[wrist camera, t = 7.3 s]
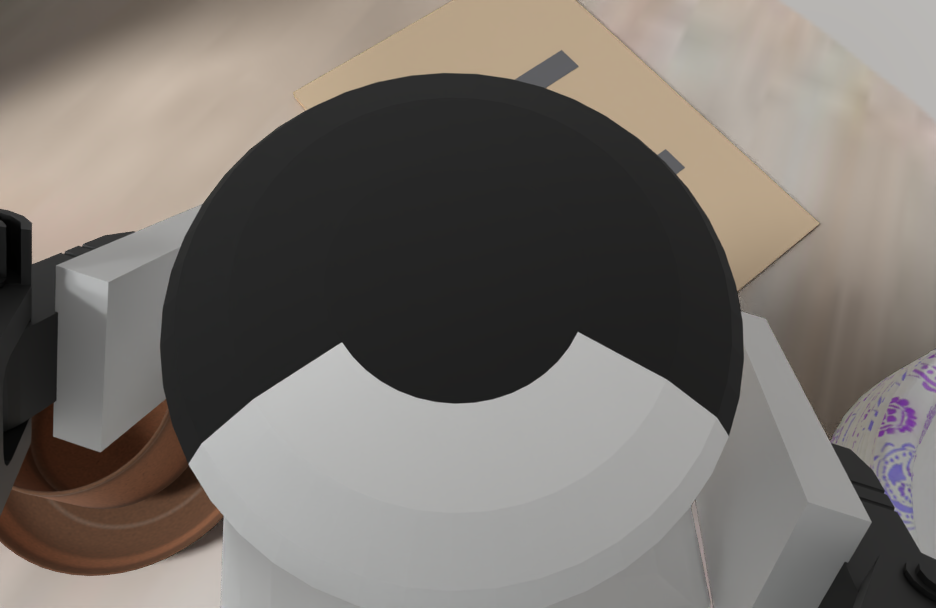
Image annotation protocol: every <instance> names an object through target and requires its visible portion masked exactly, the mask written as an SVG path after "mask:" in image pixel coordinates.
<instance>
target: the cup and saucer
mask: <svg viewBox="0 0 936 608" xmlns="http://www.w3.org/2000/svg"><path fill="white" fill-rule="evenodd" d="M53 414H54V403H52V404H51V405H49V406H48V407H46V408H45V409H43V410H42V411H40V412H39V413H37V414H36V415H34V416H33V417H31V444H30V446H29V448H28V451H27V453H26V456H25V458H24V460H23V463H22V465H21V468H20V470H19V472H18V475H17V477H16V480H15V482H14V485H13V487H12V489H11V492H10V494H9V497H8V499H7V501H6V504H5V506H4V509H3V511H2V513H1V516H0V542H1V543H2V544H4V545H5V546H6V547H7V548H8V549H10V550H11V551H12V552H14V553H15V554H16V555H18V556H20V557H22V558H23V559H25V560H27V561H29V562H31V563H33V564H35V565H38V566H40V567H42V568H46V569H49V570H52V571H56V572H60V573H66V574H71V575H84V576H97V575H110V574H117V573H123V572H128V571H132V570H136V569H139V568H142V567H145V566H148V565H151V564H154V563H156V562H159V561H161V560H163V559H165V558H168V557H170V556H172V555H174V554H175V553H177V552H179V551H181V550H183V549H184V548H186V547H188V546H189V545H190V544H192V543H193V542H195V541H196V540H198V539H199V538H201V537H202V536H203V535H204V534H206V533H207V532H208V531H209V530H210V529H212V528H213V527H214V526H215V525H216V524H217V523H218V522H219V521H220V520H221V519H222V518H223V517H224V516H223V514H222V513H221V512H220V511H219V510H218V509H217V507H216V506H215V505H214V504H213V503H212V502H211V500H210V499H209V497H208V495H207V494H206V492H205V491H204V489H203V487H202V486H201V484H200V482H199V481H198V479H197V478H196V476H195V474H194V473H193V471H192V469H191V468H190V466H189V464H188V462H187V460H186V457H185V455H184V453H183V450H182V448H181V445H180V443H179V440H178V438H177V436H176V433H175V431H174V428H173V426H172V422H171V418H170V414H169V409H168V405H167V401H166V399H165V400H164V401H163V402H161V403H160V404H159V405H158V406H157V407H155V408H154V409H153V410H152V411H151V412H149V413H148V414H147V415H146V416H144V417H143V418H142V419H141V420H140V421H138V422H137V423H136V424H135V425H133V426H132V427H131V428H130V429H129V430H127V431H126V432H125V433H124V434H122V435H121V436H120V437H119V438H118V439H116V440H115V441H114V442H113V443H111V444H110V445H109V446H108V447H107V448H105V449H104V450H103V451H102V452H98V451H95V450H92V449H89V448H86V447H83V446H80V445H77V444H74V443H71V442H68V441H65V440H62V439H59V438H56V437H53Z"/></svg>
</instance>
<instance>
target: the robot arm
mask: <svg viewBox="0 0 936 608" xmlns="http://www.w3.org/2000/svg"><path fill="white" fill-rule="evenodd" d="M201 206H202V204H201V205H199V206H197V207H194V208H192V209H189V210H187V211H185V212H182V213H180V214H177V215H175V216H173V217H170V218H168V219H166V220H163V221H161V222H158V223H156V224H154V225H151V226H149V227H146V228H144V229H142V230H139V231H137V232H134V231H132V232H125V233H119V234H112V235H105V236H102V237H100V238H97V239H95V240H92V241H90V242H87V243H85V244H83V246H82V247H81V246H77V247H75V248H72V249H70V250H67V251H65V254H62V253H60V254H57V255H55V256H52V257H50V258H47V259H45V260H42V261H40V262H37V263H35V264H32V223H31V222H30V221H29V220H28V219H26V218H25V217H24V216H22V215H19V214H16V213H14V212H11V211H8V210H3V209H0V516H1V513H2V511H3V509H4V506H5V504H6V501H7V499H8V497H9V494H10V492H11V489H12V487H13V485H14V482H15V480H16V477H17V475H18V472H19V470H20V468H21V465H22V463H23V460H24V458H25V456H26V453H27V451H28V448H29V446H30V444H31V417H33V416H34V415H36V414H37V413H39V412H40V411H42V410H43V409H45V408H46V407H48V406H49V405H51V404H52V403H54V414H53V437H56V438H59V439H62V440H65V441H68V442H71V443H74V444H77V445H80V446H83V447H86V448H89V449H92V450H95V451H98V452H102V451H103V450H104V449H105V448H107V447H108V446H109V445H110V444H111V443H113V442H114V441H115V440H116V439H118V438H119V437H120V436H121V435H122V434H124V433H125V432H126V431H127V430H129V429H130V428H131V427H132V426H133V425H135V424H136V423H137V422H138V421H140V420H141V419H142V418H143V417H144V416H146V415H147V414H148V413H149V412H151V411H152V410H153V409H154V408H155V407H157V406H158V405H159V404H160V403H161V402H163V401H164V400H165V399H166V397H165V393H164V389H163V381H162V368H161V355H160V338H161V324H162V311H163V305H164V300H165V296H166V291H167V287H168V283H169V278H170V274H171V270H172V268H173V265H174V262H175V260H176V257H177V255H178V252H179V250H180V247H181V244H182V242H183V239H184V237H185V235H186V233H187V231H188V229H189V228H190V226H191V224H192V222H193V220H194V219H195V217H196V215H197V213H198V212H199V210H200V208H201ZM741 315H742V320H743V344H744V364H743V373H742V381H741V390H740V398H739V402H738V405H737V409H736V413H735V416H734V420H733V424H732V427H731V431H730V434H729V437H728V440H727V442H726V444H725V446H724V448H723V451H722V453H721V455H720V457H719V459H718V462H717V464H716V466H715V468H714V471H713V473H712V475H711V476H710V478H709V479H708V481H707V482H706V484H705V485H704V487H703V488H702V490H701V491H700V493H699V494H698V496H697V497H696V499H695V501H696V506H697V512H698V518H699V524H700V530H701V536H702V542H703V548H704V554H705V560H706V565H707V571H708V577H709V583H710V589H711V595H712V601H713V607H714V608H936V559H934V558H932V557H930V556H927V555H925V554H923V553H921V551H920V550H919V548H918V546H917V545H916V543H915V541H914V540H913V538H912V536H911V534H910V533H909V531H908V529H907V528H906V526H905V524H904V522H903V521H902V519H901V517H900V516H899V514H898V512H896V511H894V509H895V507H894V505H893V504H892V502H891V500H890V498H889V497H888V495H886V494H884V492H885V490H884V488H883V487H882V485H881V483H880V481H879V480H878V478H877V476H876V475H875V473H874V471H873V470H872V469H871V468H870V467H869V466H868V465H867V464H866V463H865V462H864V461H863V460H861V459H860V458H859V457H858V456H857V455H856V454H855V453H854V452H853V451H852V450H851V449H849V448H846V447H842V446H839V445H836V444H833V443H830V441H829V439H828V437H827V435H826V433H825V431H824V429H823V427H822V426H821V424H820V422H819V420H818V418H817V416H816V414H815V412H814V410H813V408H812V406H811V404H810V402H809V401H808V399H807V397H806V395H805V393H804V391H803V389H802V387H801V385H800V383H799V381H798V379H797V378H796V376H795V374H794V372H793V370H792V368H791V366H790V364H789V362H788V360H787V358H786V356H785V354H784V353H783V351H782V349H781V347H780V345H779V343H778V341H777V339H776V337H775V335H774V333H773V331H772V330H771V328H770V326H769V324H768V322H767V320H766V319H765V318H762V317H759V316H755V315H752V314H748V313H745V312H742V311H741Z"/></svg>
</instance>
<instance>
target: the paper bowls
mask: <svg viewBox="0 0 936 608" xmlns="http://www.w3.org/2000/svg"><path fill="white" fill-rule="evenodd" d="M830 443H833V444H836V445H839V446H842V447H846V448H849V449H851V450H852V451H853V452H854V453H855V454H856V455H857V456H858V457H859V458H860V459H861V460H863V461H864V462H865V463H866V464H867V465H868V466H869V467H870V468H871V469H872V470H873V471H874V473H875V475H876V476H877V478H878V480H879V481H880V483H881V485H882V487H883V488H884V490H885V492H884V494H886V495H888V497H889V498H890V500H891V502H892V504H893V505H894V507H895V509H894V511H896V512H898V514H899V516H900V517H901V519H902V521H903V522H904V524H905V526H906V528H907V529H908V531H909V533H910V534H911V536H912V538H913V540H914V541H915V543H916V545H917V546H918V548H919V550H920V551H921V553H923V554H925V555H927V556H930V557H932V558H934V559H936V349H935V350H932V351H930V352H929V353H928V354H926V355H924V356H922V357H920V358H918V359H917V360H915V361H913V362H912V363H910V364H909V365H907V366H905V367H903V368H901V369H900V370H898V371H896V372H894V373H893V374H891V375H890V376H888V377H887V378H885V379H884V380H882V381H880V382H879V383H878V384H877V385H875V386H874V387H872V388H871V389H870V390H869V391H868V392H866V393H865V394H864V395H862V396H861V397H860V398H859V399H858V400H857V402H856V403H855V404H854V405H853V406H852V407H851V408H850V409H849V411H848V412H847V413H846V414H845V415H844V417H843V418H842V421H841V423H840V424H839V426H838V427H837V429H836V431H835V432H834V434H833V437H832V439H831V441H830Z"/></svg>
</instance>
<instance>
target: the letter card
mask: <svg viewBox="0 0 936 608" xmlns="http://www.w3.org/2000/svg"><path fill="white" fill-rule="evenodd" d="M436 73H463V74H481V75H488V76H495V77H502V78H509V79H514V80H517V81H521V82H525V83H529V84H533V85H536V86H540V87H544V88H546V89H549V90H552V91H554V92H557V93H559V94H562V95H565V96H567V97H570V98H572V99H575V100H577V101H579V102H580V103H582V104H584V105H586V106H588V107H590V108H592V109H594V110H596V111H598V112H599V113H601V114H603V115H605V116H607V117H608V118H610V119H611V120H613V121H614V122H615V123H617V124H618V125H620V126H621V127H623V128H624V129H626V130H627V131H629V132H630V133H631V134H633V135H634V136H636V137H637V138H639V139H640V140H641V141H642V142H643V143H644V144H645V145H647V146H648V147H649V148H650V149H651V150H652V151H653V152H655V153H656V154H657V155H658V156H659V157H660V158H661V159H662V160H664V161H665V162H666V163H667V165H668V166H669V167H670V168H671V169H672V170H673V171H674V173H675V174H676V175H677V176H678V177H679V178H680V179H681V180H682V182H683V183H684V184H685V185H686V186H687V187H688V188H689V190H690V191H691V193H692V194H693V196H694V197H695V199H696V200H697V202H698V203H699V205H700V206H701V208H702V209H703V211H704V212H705V214H706V215H707V217H708V218H709V220H710V222H711V224H712V226H713V228H714V230H715V232H716V234H717V236H718V238H719V240H720V242H721V244H722V246H723V248H724V250H725V253H726V256H727V259H728V262H729V265H730V268H731V271H732V274H733V277H734V280H735V283H736V287H737V291H739V290H740V289H741V288H742V287H744V286H745V285H746V284H747V283H748V282H750V281H751V280H752V279H753V278H755V277H756V276H757V275H758V274H759V273H761V272H762V271H763V270H764V269H766V268H767V267H768V266H769V265H770V264H772V263H773V262H774V261H775V260H776V259H778V258H779V257H780V256H781V255H783V254H784V253H785V252H786V251H787V250H789V249H790V248H791V247H792V246H794V245H795V244H796V243H797V242H798V241H800V240H801V239H802V238H803V237H805V236H806V235H807V234H808V233H809V232H811V231H812V230H813V229H814V228H816V227H817V226H818V225H819V222H818V221H817V220H815V219H814V218H813V217H812V216H811V215H810V214H809V213H808V212H807V211H806V210H805V209H803V208H802V207H801V206H800V205H799V204H798V203H797V202H796V201H795V200H794V199H793V198H791V197H790V196H789V195H788V194H787V193H786V192H785V191H784V190H783V189H782V188H780V187H779V186H778V185H777V184H776V183H775V182H774V181H773V180H772V179H771V178H770V177H768V176H767V175H766V174H765V173H764V172H763V171H762V170H761V169H760V168H759V167H758V166H756V165H755V164H754V163H753V162H752V161H751V160H750V159H749V158H748V157H747V156H746V155H744V154H743V153H742V152H741V151H740V150H739V149H738V148H737V147H736V146H735V145H733V144H732V143H731V142H730V141H729V140H728V139H727V138H726V137H725V136H724V135H723V134H721V133H720V132H719V131H718V130H717V129H716V128H715V127H714V126H713V125H712V124H711V123H709V122H708V121H707V120H706V119H705V118H704V117H703V116H702V115H701V114H700V113H699V112H697V111H696V110H695V109H694V108H693V107H692V106H691V105H690V104H689V103H688V102H686V101H685V100H684V99H683V98H682V97H681V96H680V95H679V94H678V93H677V92H676V91H674V90H673V89H672V88H671V87H670V86H669V85H668V84H667V83H666V82H665V81H664V80H662V79H661V78H660V77H659V76H658V75H657V74H656V73H655V72H654V71H653V70H652V69H650V68H649V67H648V66H647V65H646V64H645V63H644V62H643V61H642V60H641V59H639V58H638V57H637V56H636V55H635V54H634V53H633V52H632V51H631V50H630V49H629V48H627V47H626V46H625V45H624V44H623V43H622V42H621V41H620V40H619V39H618V38H617V37H615V36H614V35H613V34H612V33H611V32H610V31H609V30H608V29H607V28H606V27H605V26H603V25H602V24H601V23H600V22H599V21H598V20H597V19H596V18H595V17H594V16H592V15H591V14H590V13H589V12H588V11H587V10H586V9H585V8H584V7H583V6H582V5H580V4H579V3H578V2H577V1H576V0H452V1H451V2H449V3H447V4H446V5H444V6H442V7H440V8H439V9H437V10H435V11H433V12H432V13H430V14H428V15H426V16H425V17H423V18H421V19H420V20H418V21H416V22H414V23H413V24H411V25H409V26H407V27H406V28H404V29H402V30H400V31H399V32H397V33H395V34H394V35H392V36H390V37H388V38H387V39H385V40H383V41H381V42H380V43H378V44H376V45H374V46H373V47H371V48H369V49H368V50H366V51H364V52H362V53H361V54H359V55H357V56H355V57H354V58H352V59H350V60H348V61H347V62H345V63H343V64H342V65H340V66H338V67H336V68H335V69H333V70H331V71H329V72H328V73H326V74H324V75H322V76H321V77H319V78H317V79H315V80H314V81H312V82H310V83H309V84H307V85H305V86H303V87H302V88H300V89H298V90H296V91H295V92H293V94H294V98H295V99H296V100H297V101H298V102H299V103H300V105H301V106H302V107H303V108H304V109H305V110H308V109H310V108H312V107H314V106H316V105H318V104H320V103H322V102H325V101H327V100H329V99H331V98H334V97H336V96H338V95H340V94H342V93H345V92H348V91H351V90H354V89H357V88H360V87H363V86H366V85H370V84H373V83H376V82H380V81H385V80H390V79H395V78H401V77H406V76H411V75H424V74H436Z"/></svg>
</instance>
